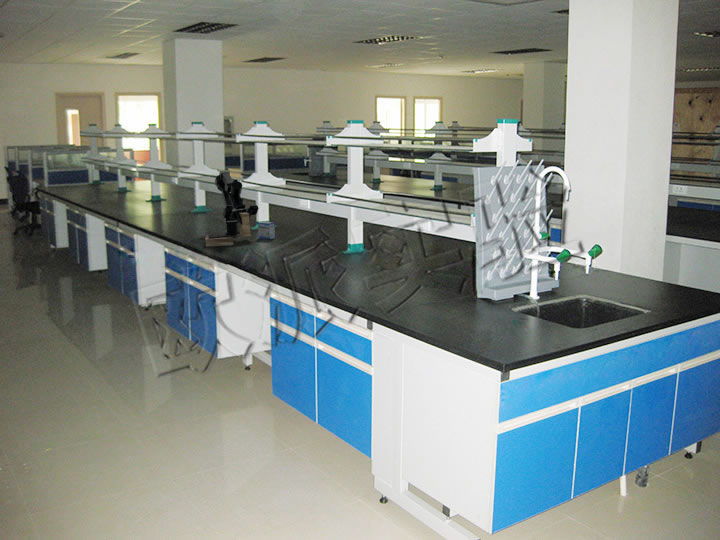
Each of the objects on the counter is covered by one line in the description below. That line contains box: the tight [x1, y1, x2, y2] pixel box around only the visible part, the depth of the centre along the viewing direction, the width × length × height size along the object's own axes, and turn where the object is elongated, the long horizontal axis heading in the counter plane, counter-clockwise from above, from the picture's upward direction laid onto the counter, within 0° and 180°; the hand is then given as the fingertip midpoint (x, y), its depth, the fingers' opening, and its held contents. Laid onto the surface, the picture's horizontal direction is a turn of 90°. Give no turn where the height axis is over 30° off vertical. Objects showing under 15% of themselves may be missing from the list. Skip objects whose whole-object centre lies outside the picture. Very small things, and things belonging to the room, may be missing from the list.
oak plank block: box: [239, 213, 251, 237], centre depth 367 cm, size 4×4×12 cm
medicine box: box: [257, 221, 276, 240], centre depth 372 cm, size 8×4×9 cm, turn 62°
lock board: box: [204, 234, 235, 248], centre depth 361 cm, size 14×14×4 cm
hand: (245, 223), depth 366 cm, fingers closed on oak plank block, 4 cm apart
